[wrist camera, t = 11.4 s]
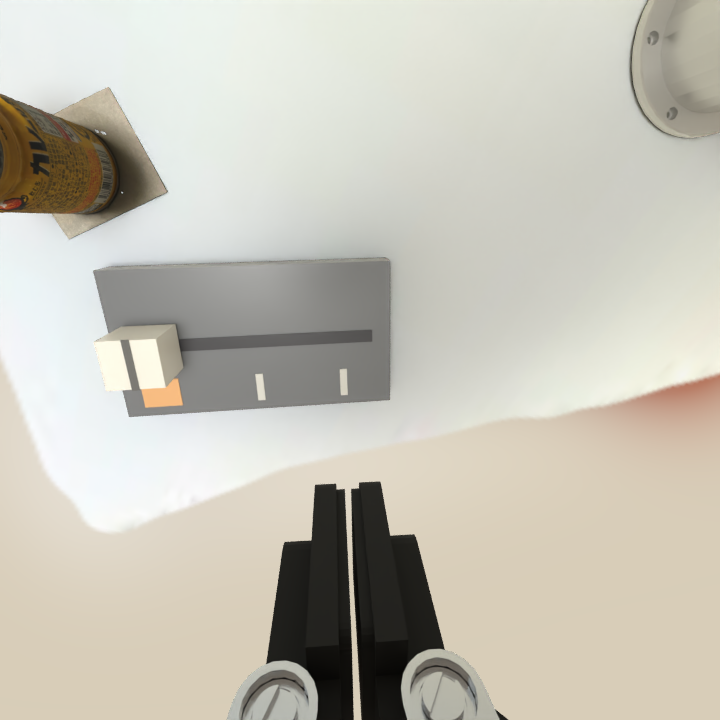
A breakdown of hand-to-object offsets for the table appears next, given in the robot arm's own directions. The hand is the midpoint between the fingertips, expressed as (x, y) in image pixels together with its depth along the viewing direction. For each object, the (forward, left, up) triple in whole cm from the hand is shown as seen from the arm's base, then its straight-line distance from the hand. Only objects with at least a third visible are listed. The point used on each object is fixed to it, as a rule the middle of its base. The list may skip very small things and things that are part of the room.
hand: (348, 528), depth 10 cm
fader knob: (+14, +2, -23) cm, 27 cm away
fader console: (+6, +2, -26) cm, 26 cm away
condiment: (+17, -11, -26) cm, 33 cm away
